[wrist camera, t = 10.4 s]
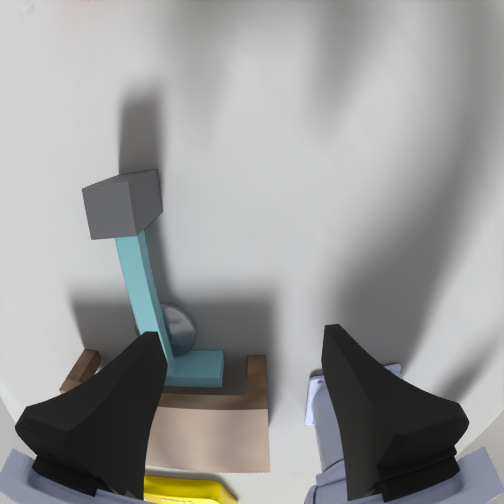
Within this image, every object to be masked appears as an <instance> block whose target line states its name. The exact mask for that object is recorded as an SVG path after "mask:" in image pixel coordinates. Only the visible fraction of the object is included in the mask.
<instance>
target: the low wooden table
mask: <svg viewBox="0 0 504 504" xmlns="http://www.w3.org/2000/svg"><path fill="white" fill-rule="evenodd" d="M100 363H101V361H100V358H99V356H98V354H97V352H96V351H92V350H84V351H83V353H82V354H81V356H80V357H79V359H78V360H77V362H76V364H75V365H74V367H73V368H72V370H71V371H70V373H69V375H68V376H67V378H66V380H65V381H64V383H63V384H62V386H61V388H60V389H59V391H60V392H61V394H63V393H65V392H67V391H69V390H71V389H73V388H74V387H76V386H78V385H80V384H82V383H83V382H85V381H86V380H88V379H89V378H91V377H92V376H94V374H95V372H96V370H97V369H98V367H99V365H100ZM145 465H151V466H157V467H164V468H172V469H180V470H190V471H203V472H222V473H262V472H270V455H269V429H268V405H267V383H266V361H265V355H257V356H248V367H247V395H195V394H174V393H162V394H161V397H160V401H159V404H158V407H157V410H156V413H155V416H154V419H153V422H152V426H151V430H150V435H149V441H148V447H147V455H146V463H145Z"/></svg>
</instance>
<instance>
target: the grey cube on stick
mask: <svg viewBox="0 0 504 504" xmlns="http://www.w3.org/2000/svg"><path fill="white" fill-rule="evenodd" d="M82 193H83V199H84V204H85V210H86V215H87V220H88V225H89V230H90V234H91V239H92V240H95V239H107V238H115V242H116V246H117V251H118V255H119V260H120V264H121V268H122V272H123V276H124V280H125V284H126V288H127V291H128V295H129V299H130V302H131V306H132V309H133V312H134V316H135V319H136V322H137V326H138V329H139V332H140V335H141V334H143V333H144V332H145V331H158V334H159V337H160V341H161V344H162V347H163V351H164V354H165V357H166V360H167V363H168V369H167V375H166V380H165V385H164V386H177V387H201V388H221V387H222V378H223V369H224V354H223V350H189V351H188V352H187V353H185V354H183V355H180V356H175V357H173V354H172V350H171V347H170V343H169V339H168V336H167V332H166V328H165V324H164V321H163V317H162V313H161V309H160V305H159V300H158V296H157V292H156V287H155V283H154V278H153V274H152V269H151V264H150V259H149V254H148V249H147V244H146V238H145V233H144V229H145V228H146V227H147V226H148V225H149V224H150V223H151V222H152V221H153V220H155V219H156V218H157V217H158V216H159V215H160V214H161V213H162V212H163V210H162V202H161V195H160V187H159V178H158V169H155V170H148V171H141V172H134V173H127V174H121V175H117V176H114V177H111V178H109V179H106V180H103V181H100V182H98V183H95V184H93V185H90V186H87V187H85V188H82Z"/></svg>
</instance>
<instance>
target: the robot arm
mask: <svg viewBox="0 0 504 504" xmlns="http://www.w3.org/2000/svg"><path fill="white" fill-rule="evenodd" d="M321 362H322V368H323V373H324V375H322V376H314V377H311V378H310V380H309V388H308V397H307V406H306V414H305V424H307V425H311V424H314V426H315V432H316V438H317V444H318V450H319V456H320V462H321V468H322V473H321V474H318V475H316V481H317V485H314V486H312V487H311V488H310V489H309V491H308V494H307V496H306V498H305V502H304V504H488V503H489V502H491V501H492V500H493V499H495V498H496V497H498V496H499V495H500V494H502V493H503V492H504V488H503V485H502V483H501V480H500V478H499V476H498V474H497V471H496V469H495V467H494V465H493V463H492V461H491V459H490V457H489V455H488V453H487V451H486V449H485V447H482V448H480V449H478V450H476V451H474V452H472V453H470V454H468V455H466V456H464V457H462V458H461V459H459V460H458V461H457V462H456V460H455V457H454V456H455V455H456V454H457V451H456V449H455V447H454V446H455V444H456V443H457V442H458V441H459V439H460V438H461V437H462V436H463V434H464V433H465V432H466V430H467V428H468V425H469V420H468V418H467V416H466V414H465V412H464V411H463V409H462V407H461V406H460V404H459V403H456V402H453V401H450V400H447V399H443V398H440V397H438V396H435V395H433V394H430V393H428V392H426V391H423V390H421V389H419V388H417V387H415V386H413V385H412V384H410V383H408V382H406V381H404V380H403V378H402V376H401V374H400V370H401V366H400V364H393V365H388V366H382V365H381V364H380V363H379V362H377V361H376V360H375V359H374V358H373V357H372V356H370V355H369V354H368V353H367V352H366V351H365V350H364V349H363V348H362V347H361V346H360V345H359V344H358V343H357V342H356V341H355V340H354V339H353V338H352V337H351V336H350V335H349V334H348V333H347V332H346V331H345V330H344V329H343V328H342V327H341V326H340V325H339V324H334V325H325V330H324V340H323V349H322V358H321ZM167 369H168V363H167V360H166V357H165V354H164V351H163V347H162V344H161V341H160V337H159V334H158V331H145V332H144V333H143V334H141V335H140V336H139V337H138V338H137V339H136V340H135V341H134V342H133V343H132V344H131V345H130V346H128V347H127V348H126V349H125V350H124V351H123V352H122V353H121V354H120V355H119V356H117V357H116V358H115V359H114V360H113V361H112V362H110V363H109V364H108V365H107V366H105V367H104V368H103V369H102V370H101V371H99V372H98V373H97V374H95V375H94V376H92V377H91V378H89V379H88V380H86V381H85V382H83V383H82V384H80V385H78V386H76V387H74V388H73V389H71V390H69V391H67V392H65V393H63V394H61V395H59V396H57V397H54V398H52V399H49V400H47V401H44V402H41V403H38V404H34V405H31V406H27V407H26V408H25V410H24V412H23V413H22V415H21V417H20V418H19V420H18V422H17V423H16V425H15V430H16V432H17V434H18V436H19V437H20V438H21V439H22V440H23V441H24V442H25V443H26V444H27V446H28V447H29V448H30V449H31V450H33V452H34V453H35V454H36V455H37V457H36V460H34V459H33V458H31V457H30V456H28V455H26V454H24V453H22V452H20V451H18V450H16V449H12V451H11V453H10V455H9V457H8V459H7V461H6V463H5V465H4V467H3V469H2V471H1V473H0V492H2V493H3V494H4V495H6V496H7V497H9V498H10V499H12V500H13V501H14V502H16V503H17V504H158V503H152V502H147V501H144V475H145V463H146V455H147V447H148V441H149V435H150V430H151V426H152V422H153V419H154V416H155V413H156V410H157V407H158V404H159V401H160V397H161V394H162V391H163V388H164V385H165V380H166V375H167ZM319 380H320V381H319Z"/></svg>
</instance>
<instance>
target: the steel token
mask: <svg viewBox="0 0 504 504" xmlns="http://www.w3.org/2000/svg"><path fill="white" fill-rule="evenodd" d="M159 305H160V309H161V313H162V317H163V321H164V324H165V328H166V332H167V336H168V339H169V343H170V347H171V350H172V354H173V357H175V356H180V355H183V354H185V353H187V352H188V351H189V350H190V349H191V347H192V346H193V343H194V339H195V335H196V328H195V324H194V322H193V320H192V318H191V317H190V316H189V315H188V314H187V313H186V312H185V311H184V310H183V309H181V308H179V307H178V306H175V305H173V304H170V303H164V302H159ZM136 332H137V335H138V337H139V336H140V332H139V329H138V326H137V322H136Z"/></svg>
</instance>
